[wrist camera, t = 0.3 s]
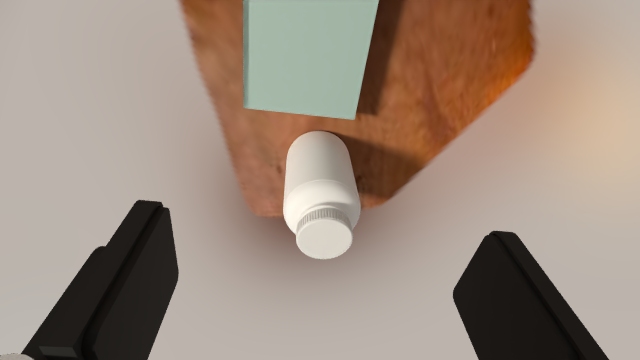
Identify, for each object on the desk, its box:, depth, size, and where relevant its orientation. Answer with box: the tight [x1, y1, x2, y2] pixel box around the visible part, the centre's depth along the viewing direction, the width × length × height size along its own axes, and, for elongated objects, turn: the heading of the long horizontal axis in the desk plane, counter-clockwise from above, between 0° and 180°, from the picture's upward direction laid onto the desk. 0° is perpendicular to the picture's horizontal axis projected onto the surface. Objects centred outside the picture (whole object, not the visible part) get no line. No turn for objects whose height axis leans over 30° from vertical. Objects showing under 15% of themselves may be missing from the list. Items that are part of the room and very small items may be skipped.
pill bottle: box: [283, 131, 361, 259], centre depth 36 cm, size 8×8×15 cm
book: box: [243, 0, 379, 120], centre depth 33 cm, size 12×16×4 cm
